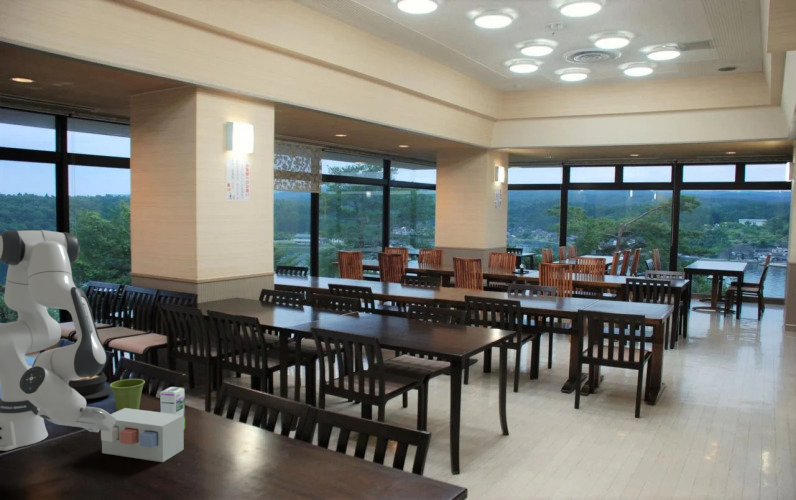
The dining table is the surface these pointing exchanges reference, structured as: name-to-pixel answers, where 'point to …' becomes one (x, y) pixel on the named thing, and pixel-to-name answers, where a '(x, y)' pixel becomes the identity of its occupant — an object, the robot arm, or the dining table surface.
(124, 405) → the plant pot
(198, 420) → the dining table surface
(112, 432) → the white key
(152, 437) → the blue key
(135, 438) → the red key
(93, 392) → the casserole
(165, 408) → the syrup box
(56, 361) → the robot arm
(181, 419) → the key console
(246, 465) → the dining table surface
